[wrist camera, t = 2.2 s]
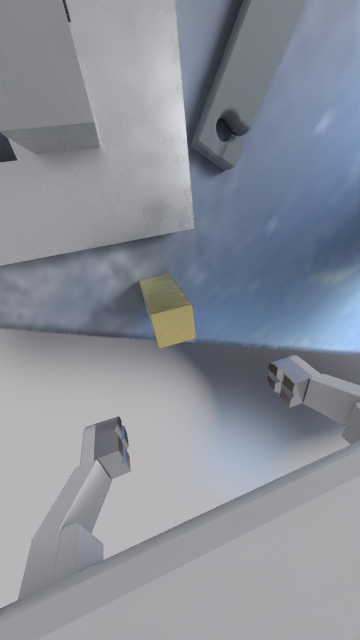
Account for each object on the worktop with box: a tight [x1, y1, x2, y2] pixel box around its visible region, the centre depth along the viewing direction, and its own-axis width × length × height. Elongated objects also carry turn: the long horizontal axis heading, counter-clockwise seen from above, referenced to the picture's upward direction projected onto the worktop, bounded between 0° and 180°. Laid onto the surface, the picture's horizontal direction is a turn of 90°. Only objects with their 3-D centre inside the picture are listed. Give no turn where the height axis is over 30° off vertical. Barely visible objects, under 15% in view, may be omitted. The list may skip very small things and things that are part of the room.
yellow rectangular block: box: [139, 274, 196, 349], centre depth 19 cm, size 3×3×8 cm
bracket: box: [191, 0, 306, 170], centre depth 16 cm, size 4×10×2 cm, turn 155°
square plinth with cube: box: [0, 0, 195, 266], centre depth 11 cm, size 16×16×8 cm
